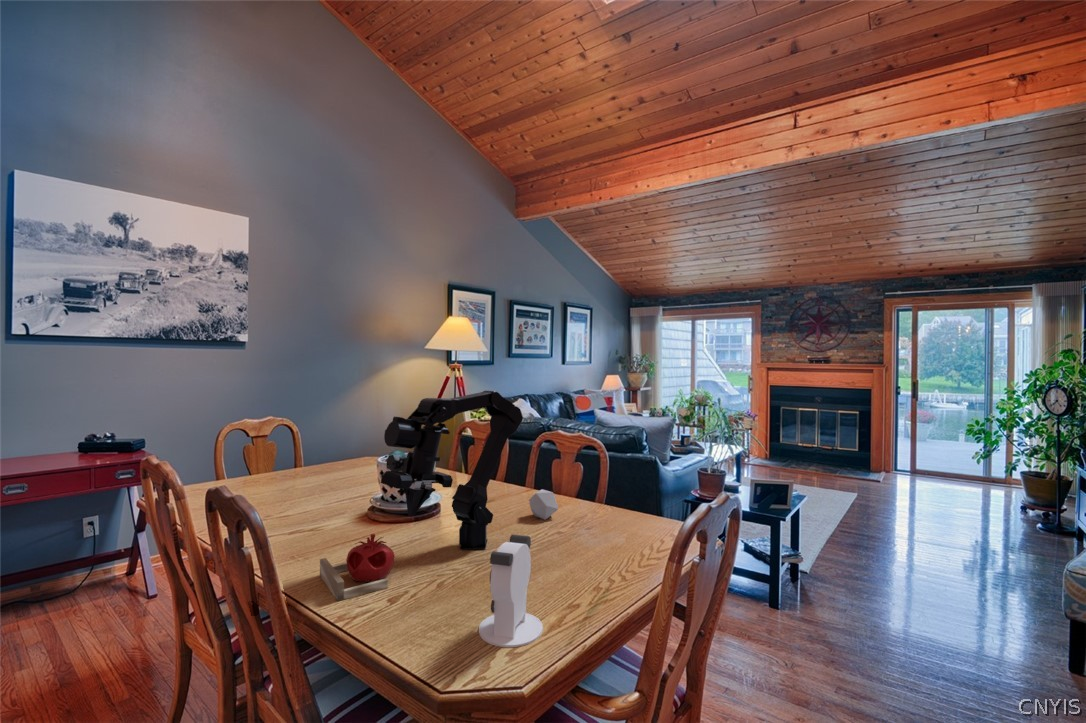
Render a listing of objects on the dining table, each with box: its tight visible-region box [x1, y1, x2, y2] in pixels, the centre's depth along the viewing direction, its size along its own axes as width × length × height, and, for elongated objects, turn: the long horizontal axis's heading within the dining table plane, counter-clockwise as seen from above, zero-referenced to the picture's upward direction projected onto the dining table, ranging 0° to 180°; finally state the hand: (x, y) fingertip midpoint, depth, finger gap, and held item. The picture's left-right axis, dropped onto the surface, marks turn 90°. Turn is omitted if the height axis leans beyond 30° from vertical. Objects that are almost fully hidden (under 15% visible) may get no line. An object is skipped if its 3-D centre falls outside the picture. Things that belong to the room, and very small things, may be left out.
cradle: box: [319, 557, 389, 602], centre depth 106 cm, size 10×15×4 cm, turn 37°
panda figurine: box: [478, 534, 544, 648], centre depth 88 cm, size 12×11×15 cm
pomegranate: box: [345, 533, 396, 583], centre depth 109 cm, size 10×10×9 cm
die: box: [528, 489, 559, 521], centre depth 153 cm, size 8×9×10 cm
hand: (410, 516), depth 116 cm, fingers closed
